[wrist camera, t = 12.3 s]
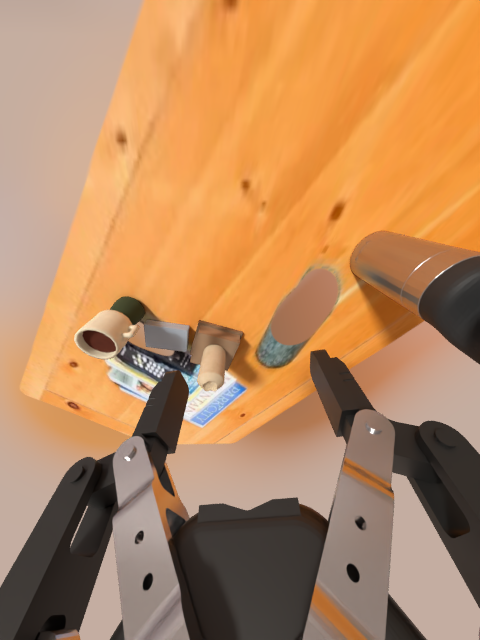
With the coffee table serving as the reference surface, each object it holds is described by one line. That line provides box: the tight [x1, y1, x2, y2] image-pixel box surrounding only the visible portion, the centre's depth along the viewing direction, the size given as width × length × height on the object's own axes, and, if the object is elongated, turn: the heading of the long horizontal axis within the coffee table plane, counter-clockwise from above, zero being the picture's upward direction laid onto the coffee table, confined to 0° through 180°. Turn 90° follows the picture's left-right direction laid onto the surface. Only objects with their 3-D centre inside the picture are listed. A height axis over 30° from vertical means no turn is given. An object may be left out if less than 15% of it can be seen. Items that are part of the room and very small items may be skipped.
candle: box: [197, 345, 226, 391], centre depth 42 cm, size 6×6×10 cm
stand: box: [190, 320, 243, 371], centre depth 48 cm, size 11×11×4 cm
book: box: [144, 319, 189, 352], centre depth 46 cm, size 10×7×2 cm
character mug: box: [74, 297, 145, 359], centre depth 37 cm, size 11×7×13 cm, turn 94°
